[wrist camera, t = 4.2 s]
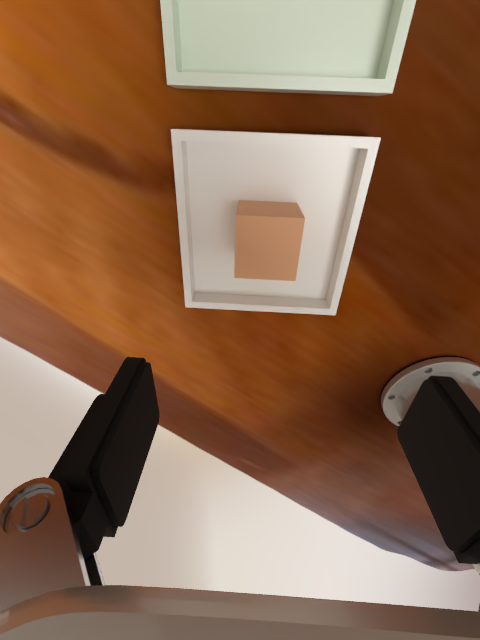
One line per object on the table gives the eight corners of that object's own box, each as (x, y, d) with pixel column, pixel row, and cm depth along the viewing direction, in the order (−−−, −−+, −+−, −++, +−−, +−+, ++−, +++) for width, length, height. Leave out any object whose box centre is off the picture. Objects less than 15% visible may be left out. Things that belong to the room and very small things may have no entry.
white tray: (369, 136, 23) (380, 137, 21) (330, 302, 31) (335, 315, 29) (178, 128, 23) (170, 128, 21) (190, 295, 31) (185, 307, 29)
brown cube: (297, 202, 25) (305, 218, 21) (289, 257, 28) (295, 281, 24) (239, 200, 25) (235, 214, 21) (237, 255, 28) (234, 277, 24)
